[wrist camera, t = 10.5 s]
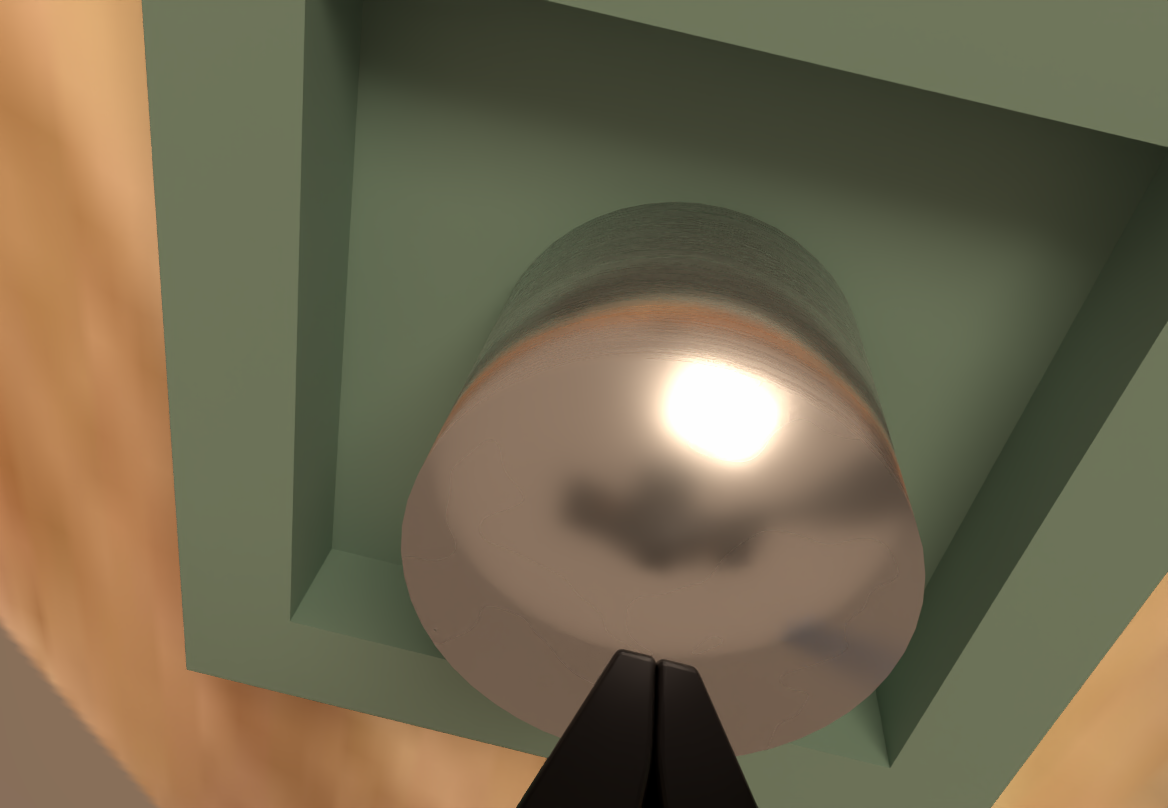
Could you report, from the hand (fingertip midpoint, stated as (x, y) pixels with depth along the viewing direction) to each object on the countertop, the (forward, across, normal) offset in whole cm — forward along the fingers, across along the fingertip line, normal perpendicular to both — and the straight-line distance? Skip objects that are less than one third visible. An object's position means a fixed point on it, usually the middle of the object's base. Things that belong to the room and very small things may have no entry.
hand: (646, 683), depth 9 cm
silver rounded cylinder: (+6, 0, 0) cm, 6 cm away
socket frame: (+7, 0, 0) cm, 7 cm away
